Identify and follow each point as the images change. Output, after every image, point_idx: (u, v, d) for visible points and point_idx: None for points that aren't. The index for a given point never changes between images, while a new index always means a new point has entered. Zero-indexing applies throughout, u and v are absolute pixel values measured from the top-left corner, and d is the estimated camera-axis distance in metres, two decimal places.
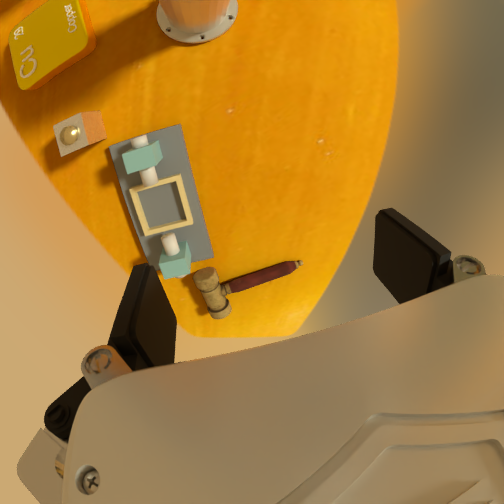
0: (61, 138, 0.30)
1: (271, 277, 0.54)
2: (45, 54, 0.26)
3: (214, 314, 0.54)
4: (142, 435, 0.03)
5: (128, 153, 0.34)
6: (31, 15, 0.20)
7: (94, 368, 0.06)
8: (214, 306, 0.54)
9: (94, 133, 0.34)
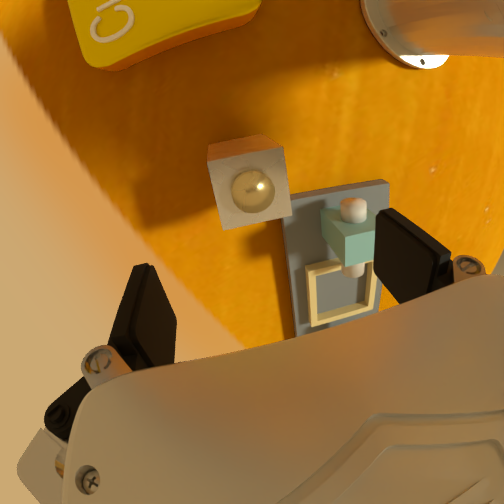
0: (236, 196, 0.18)
1: None
2: (157, 1, 0.14)
3: None
4: (142, 435, 0.03)
5: (356, 236, 0.22)
6: None
7: (94, 368, 0.06)
8: None
9: None
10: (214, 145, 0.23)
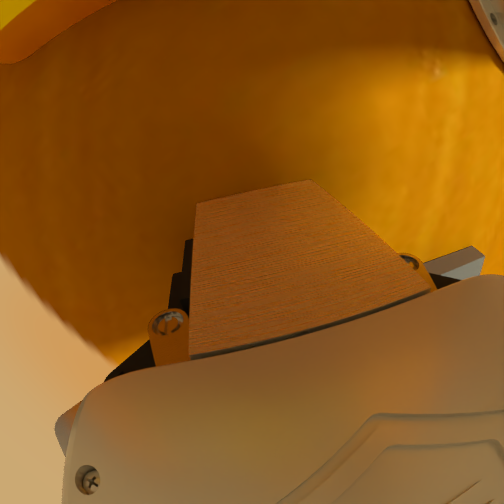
0: None
1: None
2: None
3: None
4: (142, 435, 0.03)
5: None
6: None
7: (164, 330, 0.07)
8: None
9: None
10: (210, 212, 0.10)
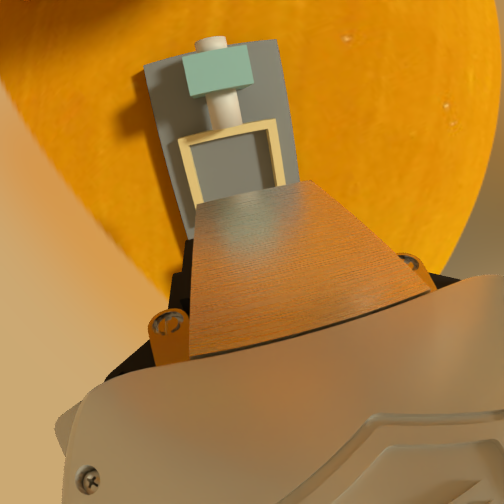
0: None
1: None
2: None
3: None
4: (142, 435, 0.03)
5: (197, 55, 0.15)
6: None
7: (164, 330, 0.07)
8: None
9: None
10: (210, 213, 0.10)
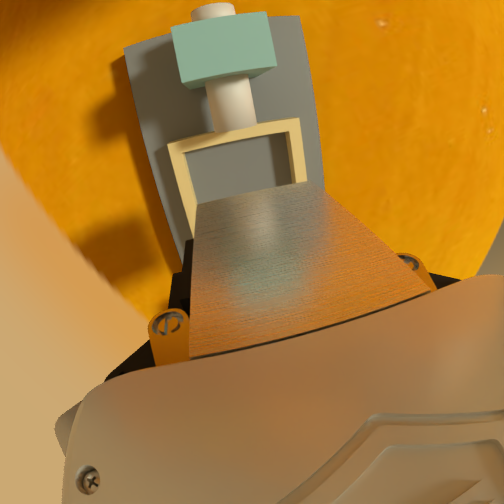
0: None
1: None
2: None
3: None
4: (142, 435, 0.03)
5: (192, 25, 0.09)
6: None
7: (164, 330, 0.07)
8: None
9: None
10: (210, 213, 0.10)
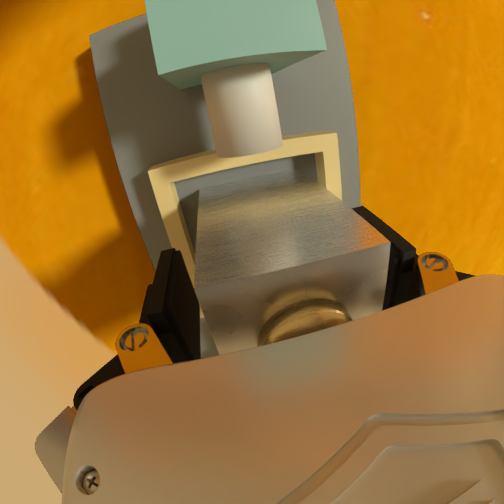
0: None
1: None
2: None
3: None
4: (142, 435, 0.03)
5: None
6: None
7: (130, 345, 0.07)
8: None
9: None
10: (211, 195, 0.12)
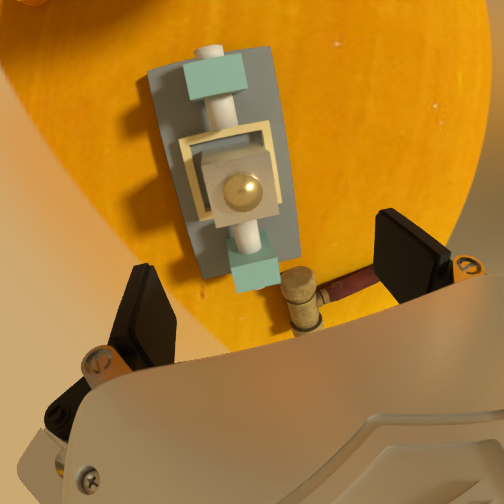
0: (227, 197, 0.20)
1: None
2: None
3: (304, 334, 0.37)
4: (142, 435, 0.03)
5: (196, 63, 0.17)
6: None
7: (94, 368, 0.06)
8: (306, 323, 0.36)
9: None
10: (208, 151, 0.25)
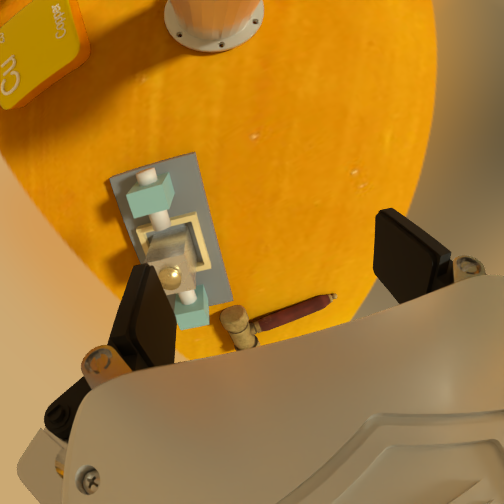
0: None
1: (304, 314, 0.49)
2: (29, 65, 0.21)
3: None
4: (142, 435, 0.03)
5: (134, 193, 0.29)
6: (13, 19, 0.15)
7: (94, 368, 0.06)
8: (243, 346, 0.48)
9: (193, 266, 0.36)
10: (156, 237, 0.37)
